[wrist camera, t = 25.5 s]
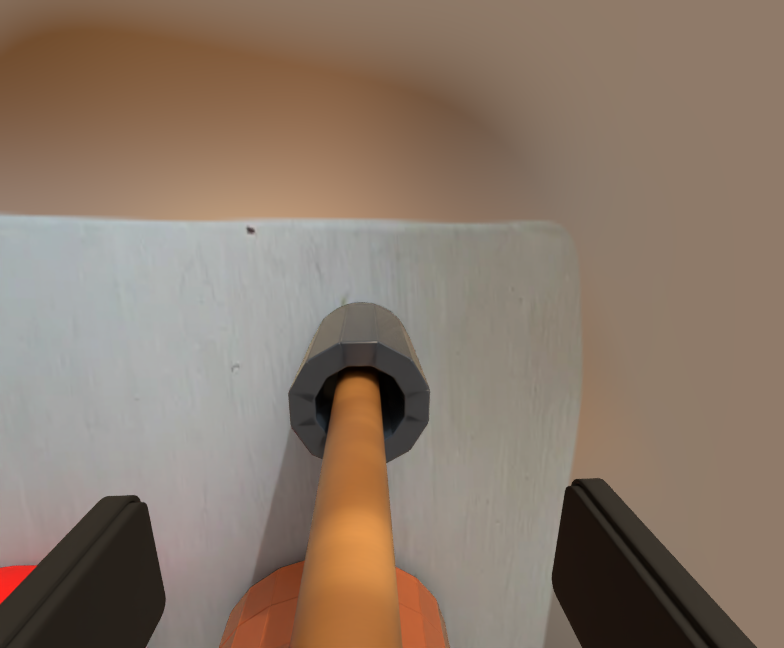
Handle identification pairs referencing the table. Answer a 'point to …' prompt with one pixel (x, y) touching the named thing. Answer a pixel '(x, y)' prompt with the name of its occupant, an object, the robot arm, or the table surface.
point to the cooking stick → (351, 530)
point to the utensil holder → (361, 348)
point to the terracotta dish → (279, 601)
